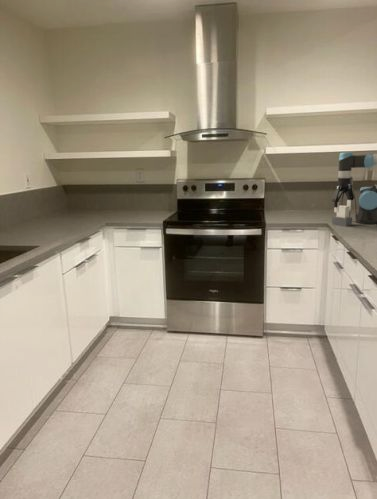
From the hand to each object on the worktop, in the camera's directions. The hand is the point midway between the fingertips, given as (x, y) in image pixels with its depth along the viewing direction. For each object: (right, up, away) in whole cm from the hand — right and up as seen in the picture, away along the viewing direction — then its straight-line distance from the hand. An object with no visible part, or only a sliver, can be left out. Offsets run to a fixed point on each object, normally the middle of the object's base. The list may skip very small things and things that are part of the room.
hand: (342, 211), depth 244 cm
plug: (+1, -8, +2) cm, 9 cm away
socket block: (0, -8, +2) cm, 9 cm away
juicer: (+11, -5, +17) cm, 21 cm away
